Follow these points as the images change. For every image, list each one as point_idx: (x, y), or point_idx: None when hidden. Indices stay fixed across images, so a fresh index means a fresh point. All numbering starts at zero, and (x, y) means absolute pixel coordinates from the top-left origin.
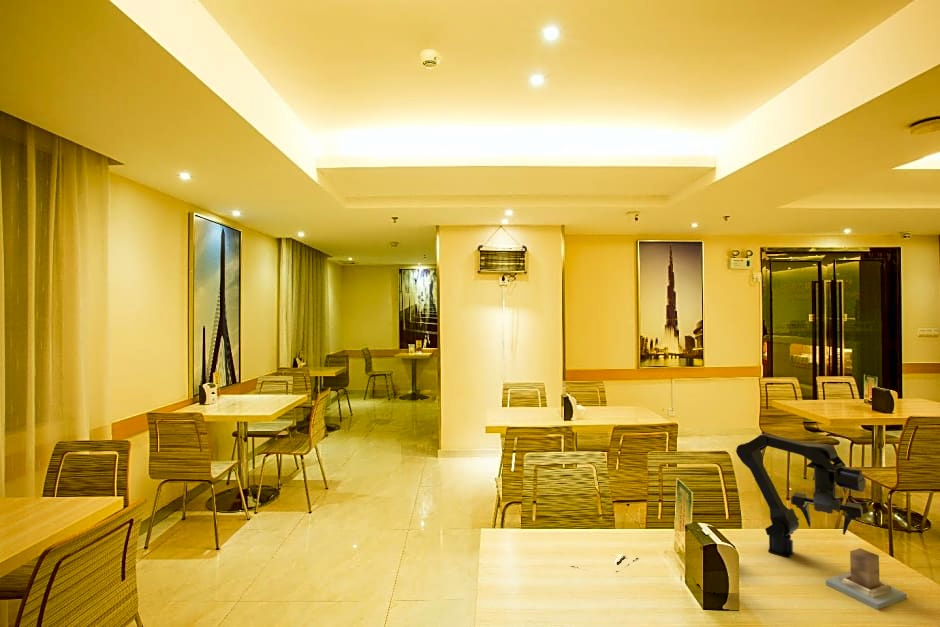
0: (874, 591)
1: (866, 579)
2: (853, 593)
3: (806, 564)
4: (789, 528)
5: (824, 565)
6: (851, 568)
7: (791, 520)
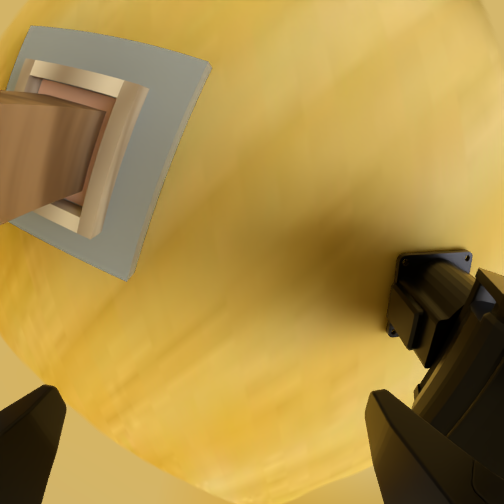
0: (20, 74)
1: (19, 92)
2: (94, 33)
3: (325, 239)
4: (493, 321)
5: (253, 287)
6: (56, 106)
7: (494, 402)
